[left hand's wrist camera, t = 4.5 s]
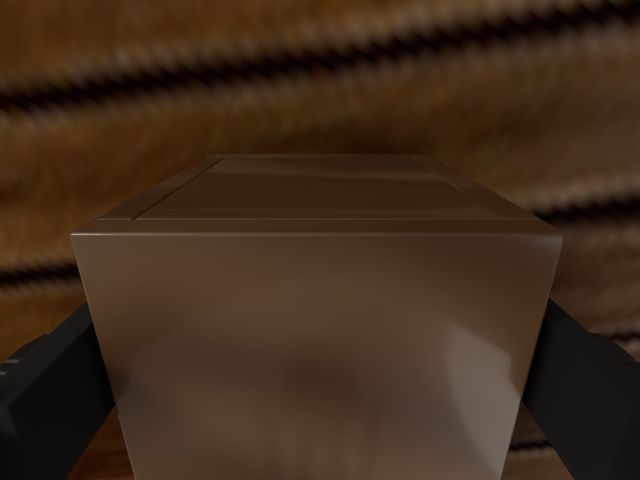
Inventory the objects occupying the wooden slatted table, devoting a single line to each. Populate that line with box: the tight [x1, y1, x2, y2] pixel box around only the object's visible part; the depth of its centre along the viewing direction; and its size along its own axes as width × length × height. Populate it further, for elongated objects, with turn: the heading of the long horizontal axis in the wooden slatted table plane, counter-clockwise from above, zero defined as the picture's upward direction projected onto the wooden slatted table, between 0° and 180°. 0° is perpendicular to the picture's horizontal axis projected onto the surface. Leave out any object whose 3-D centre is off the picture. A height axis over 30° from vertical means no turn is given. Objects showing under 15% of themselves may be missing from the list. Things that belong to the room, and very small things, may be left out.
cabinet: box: [70, 154, 565, 480], centre depth 16 cm, size 20×10×11 cm, turn 0°
